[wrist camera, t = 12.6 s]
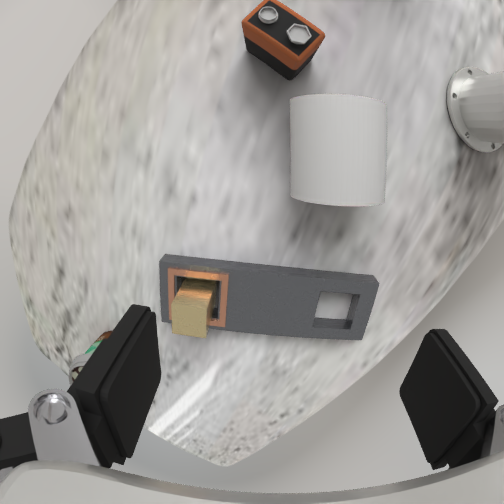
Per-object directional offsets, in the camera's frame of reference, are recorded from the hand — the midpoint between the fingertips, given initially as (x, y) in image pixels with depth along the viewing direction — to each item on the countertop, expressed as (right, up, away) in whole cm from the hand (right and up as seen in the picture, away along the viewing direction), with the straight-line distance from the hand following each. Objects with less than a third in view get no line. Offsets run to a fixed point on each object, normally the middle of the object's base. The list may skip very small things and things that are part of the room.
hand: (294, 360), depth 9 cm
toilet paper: (+8, +16, +24) cm, 30 cm away
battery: (+2, +27, +21) cm, 34 cm away
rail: (+1, -2, +31) cm, 31 cm away
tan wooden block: (-8, -1, +31) cm, 32 cm away
